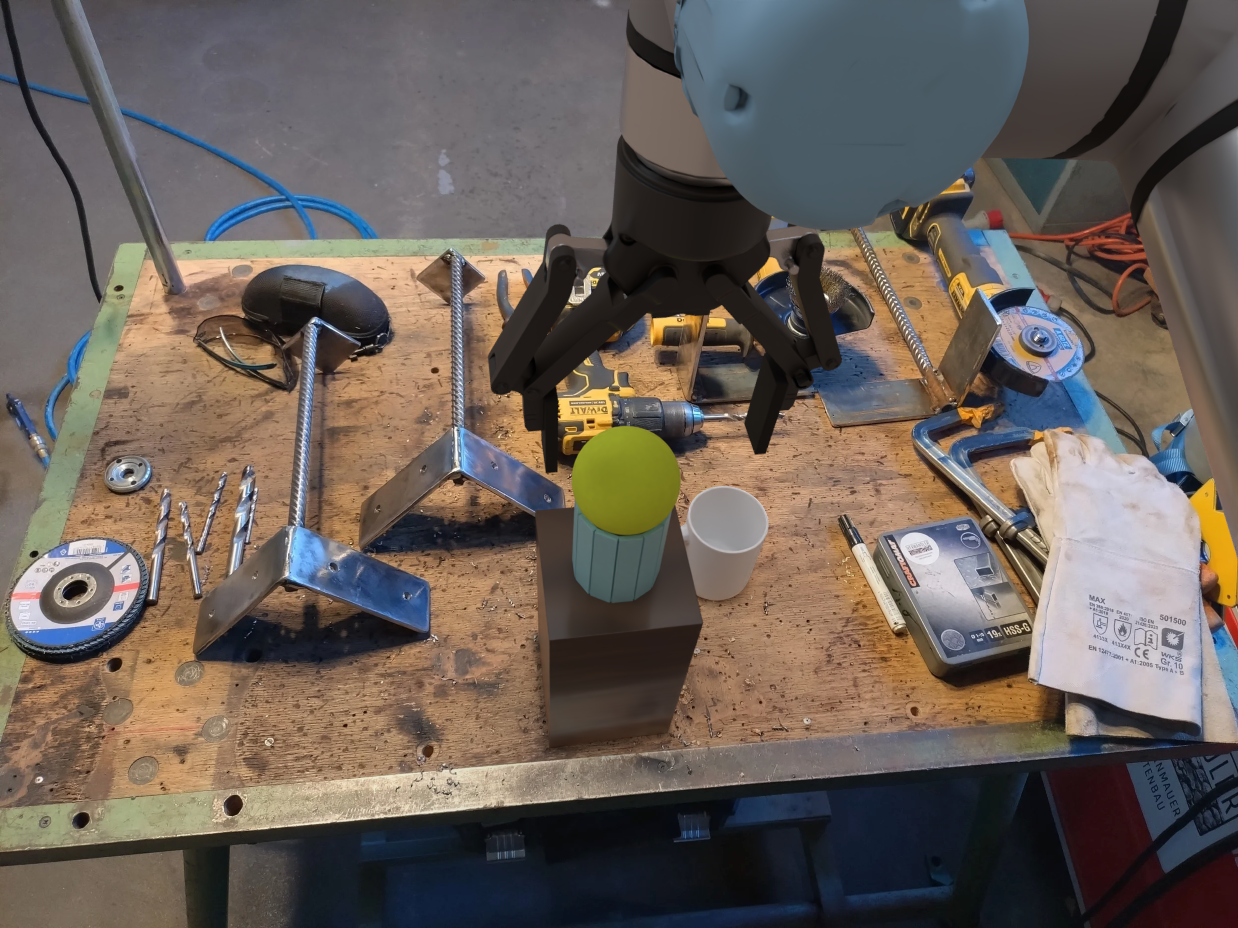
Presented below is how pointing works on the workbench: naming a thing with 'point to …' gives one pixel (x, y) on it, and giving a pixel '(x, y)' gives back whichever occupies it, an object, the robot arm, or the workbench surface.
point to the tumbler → (616, 559)
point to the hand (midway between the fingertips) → (654, 447)
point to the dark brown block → (611, 642)
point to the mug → (723, 540)
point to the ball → (626, 480)
